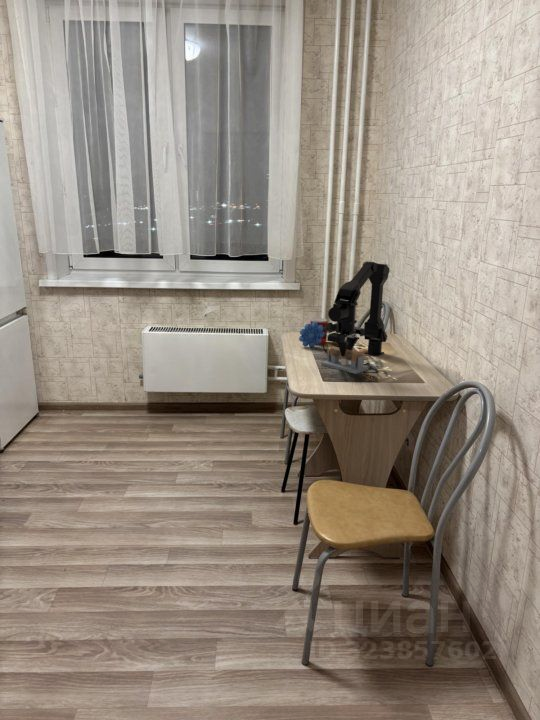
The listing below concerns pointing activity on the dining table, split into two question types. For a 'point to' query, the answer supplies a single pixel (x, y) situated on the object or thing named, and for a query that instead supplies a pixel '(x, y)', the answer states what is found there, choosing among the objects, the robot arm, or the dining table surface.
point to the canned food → (323, 322)
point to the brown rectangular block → (348, 355)
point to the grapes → (311, 334)
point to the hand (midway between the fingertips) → (345, 355)
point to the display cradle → (345, 364)
